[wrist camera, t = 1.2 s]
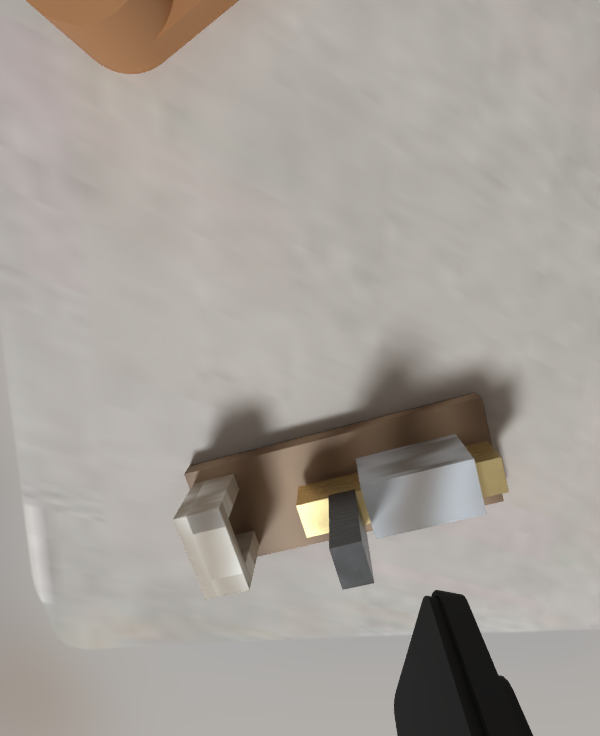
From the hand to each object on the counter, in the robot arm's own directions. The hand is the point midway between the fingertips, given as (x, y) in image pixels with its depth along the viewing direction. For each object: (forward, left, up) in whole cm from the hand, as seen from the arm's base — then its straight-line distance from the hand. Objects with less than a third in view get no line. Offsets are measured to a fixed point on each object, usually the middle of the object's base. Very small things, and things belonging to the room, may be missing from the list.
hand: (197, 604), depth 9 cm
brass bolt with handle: (-11, +7, -24) cm, 27 cm away
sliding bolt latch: (-8, +9, -26) cm, 29 cm away
